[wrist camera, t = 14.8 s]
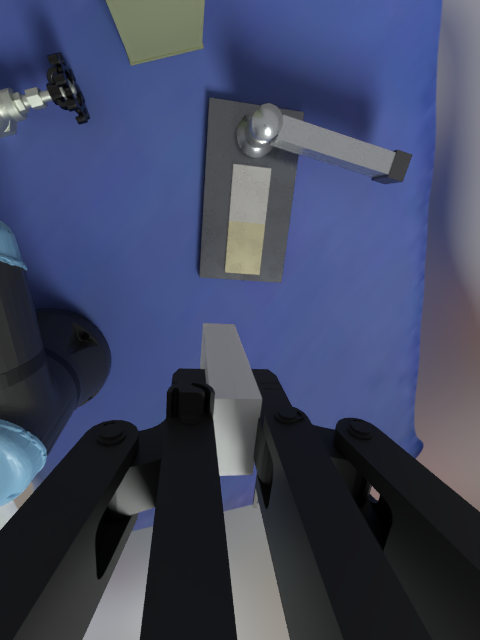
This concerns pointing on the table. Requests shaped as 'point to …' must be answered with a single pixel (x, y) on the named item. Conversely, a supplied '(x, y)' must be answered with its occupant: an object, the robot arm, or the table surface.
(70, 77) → the valve
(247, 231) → the plate
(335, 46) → the table surface
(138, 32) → the ammunition box
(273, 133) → the grey long bar
